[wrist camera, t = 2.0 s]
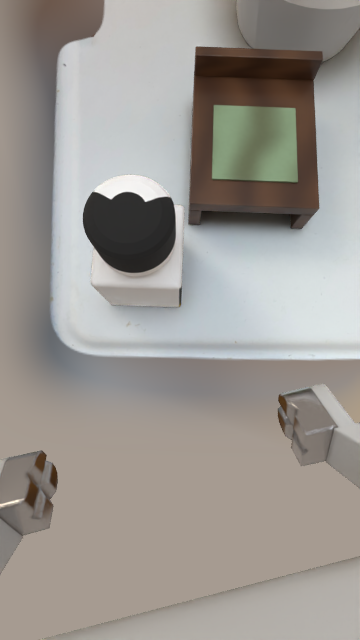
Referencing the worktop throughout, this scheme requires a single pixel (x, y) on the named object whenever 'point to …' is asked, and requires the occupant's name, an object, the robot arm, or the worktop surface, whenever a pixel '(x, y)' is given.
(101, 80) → the worktop surface
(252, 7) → the bowl
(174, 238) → the medicine bottle
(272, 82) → the shelf
